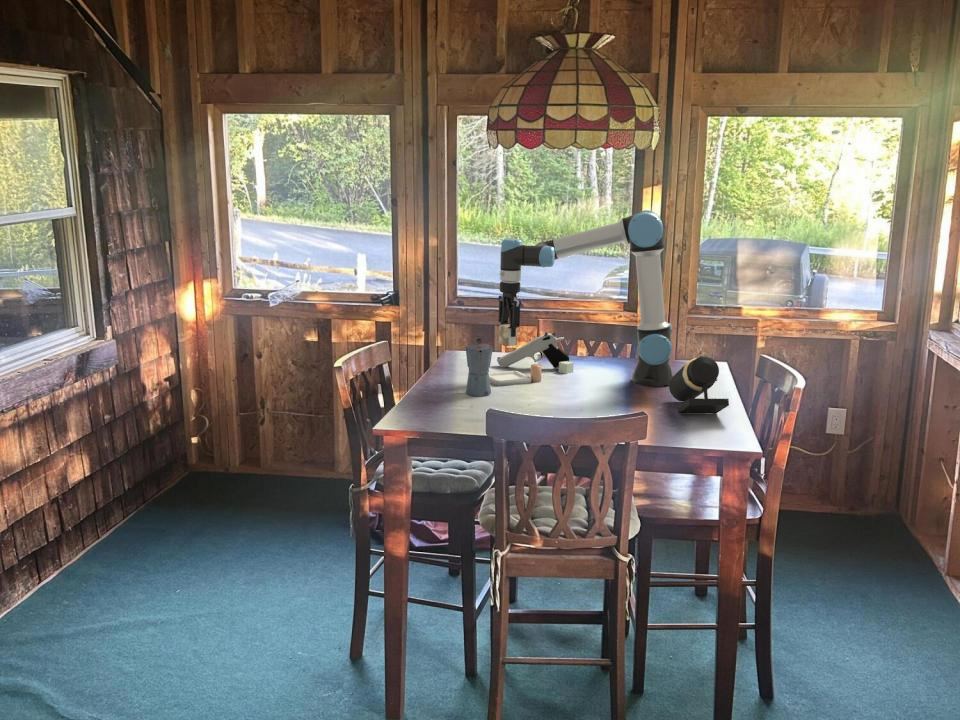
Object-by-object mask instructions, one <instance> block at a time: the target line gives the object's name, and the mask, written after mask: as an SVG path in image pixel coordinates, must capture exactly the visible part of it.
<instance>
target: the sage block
mask: <svg viewBox="0 0 960 720" xmlns="http://www.w3.org/2000/svg"><path fill="white" fill-rule="evenodd" d="M558 373H561V374H566V375H569V374H572V373H574V361H573V362H572V361H570V362H568V361H563V362H559V368H558ZM568 373H569V374H568Z"/></svg>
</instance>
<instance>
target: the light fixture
mask: <svg viewBox="0 0 960 720" xmlns="http://www.w3.org/2000/svg"><path fill="white" fill-rule="evenodd" d="M719 374H720V368H719V365H718V363H717V362H716V360H715V359H713V358H711V357H710V356H705V355H700V356H699V357H695V358H693V359H690V360H689V361H688V362H686V363H685V364H684V365H683V366H682V367H681V368H680V369H679V370H678V371H677V372H676V373H675V374H674V375H672V376H673V377H672V378H671V380H670V383H669V385H668V388H669V389H668V390H669V392H670V394H671V396H672V397H673V398H674V399H676V400H677V401H679V402H682V401H685V402H682V403H681V404H680V405H679V406H677V414H679V413H716V414H718V413H720V412H721V411H722V410H724V409H726V408H727V407H729V406H730V401H729V398H709V396H708V390H709V389H711V388H712V387H713V385H714V384H715V383H716V382H717V381H718V377H719ZM702 394H703V398H698V397H699V396H701V395H702Z"/></svg>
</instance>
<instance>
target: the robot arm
mask: <svg viewBox="0 0 960 720" xmlns="http://www.w3.org/2000/svg"><path fill="white" fill-rule="evenodd" d="M664 242H665V241H664V224H663V221H662V219H661V217H660V215H658V214H657V213H656V212H654V211H653V210H647V209H646V210H641V211H638V212H636V213H635V214H632V215H629V216H627V217H623V218H620V220H619V221H618V222H615V223H611V224H607V225H603V226H600V227H595V228H592V229H588V230H584V231H579V232H577V233H573V234H568V235H564V236H561V237H556V238H553V239H550V240H545V241H540V242H537V243H536V244H535V245H529V244H528V245H527V244H523V242H522V240H521V239H519V238H504V239H503V240H502V241H501V245H500V246H501V247H500V266H499V267H500V268H499V269H500V270H499V271H500V272H499V279H500V282H499V292H501V293H502V295H499V296H498V316H497V317H498V323H500V325H508V324H510V327H508V328H509V331H508V345H509V346H508V347H511V345H514V346H516V345H515V344H516V328H517V327H518V328H520V324H521V323H520V321H521V320H520V318H521V304H522V301H521V300H518V295H517V294H519V293H520V292H521V274H522V267H538V268H540V267H541V268H552V267H554V264H555V260H559V259H563V258H566V257H567V258H568V257H571V256H575V255H579V254H583V253H587V252H590V251H594V250H599V249H603V248H607V247H610V246H614V245H618V244H621V243H625V244H627V245H629V247H630V249H629V250H630V253H631V254H633V255H634V256H635V267H636V268H635V269H636V279H637V292H638V303H639V315H640V323H639V324H638V326H636V331H637V343H638V346H637V353H638V355H637V362H636V365H635V368H634V371H633V372H632V376H631V377H632V378H631V380H632V382H633V383H635V384H637V385H641V386H646V385H647V387H665V386H664V385H668V386H669V383H670V380H671V378H672V377H673V376H674V375H673V372H672V369H671V365H670V357H671V355H672V353H673V345H672V332H673V329H672V328H673V327H672V324H671V323H670V322H668V321H666V314H665V302H664V288H663V287H664V286H663V275H662V274H663V273H662V262H661V253H662V252H663V251H664V250H665V243H664Z"/></svg>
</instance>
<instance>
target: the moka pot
mask: <svg viewBox="0 0 960 720" xmlns="http://www.w3.org/2000/svg"><path fill="white" fill-rule="evenodd" d="M493 350H494V347H493V346H492V345H491V344H490V343H489V344H488V343H483V342H482V338H477V339H476V341H475V343H470V344H468V345H466V346H465V354H466V355H465V356H466V361H467V367H468V375H467V381H466V386H465V387H466V390H465V393H466V395H468V396H472V397H478V396H481V397H487V396H489V395H491V394H492V390H491V389H492V388H491V382H490V380H489V373H490V367H491V363H492V355H493Z"/></svg>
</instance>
